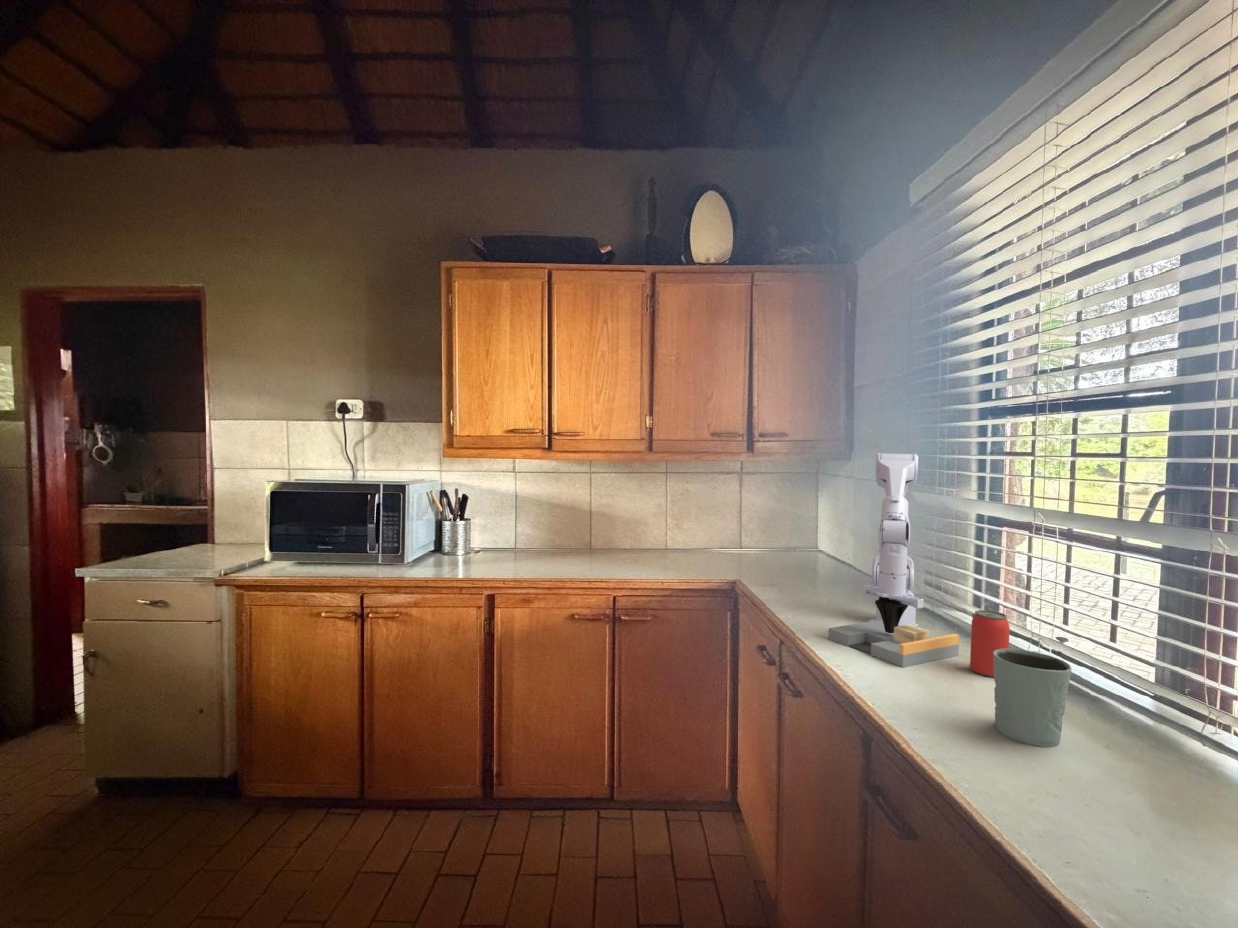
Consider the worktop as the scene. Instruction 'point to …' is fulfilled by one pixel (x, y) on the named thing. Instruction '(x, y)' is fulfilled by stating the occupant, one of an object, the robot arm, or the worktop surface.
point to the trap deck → (894, 644)
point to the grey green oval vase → (1030, 696)
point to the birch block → (909, 634)
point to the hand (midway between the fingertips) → (890, 631)
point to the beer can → (987, 640)
